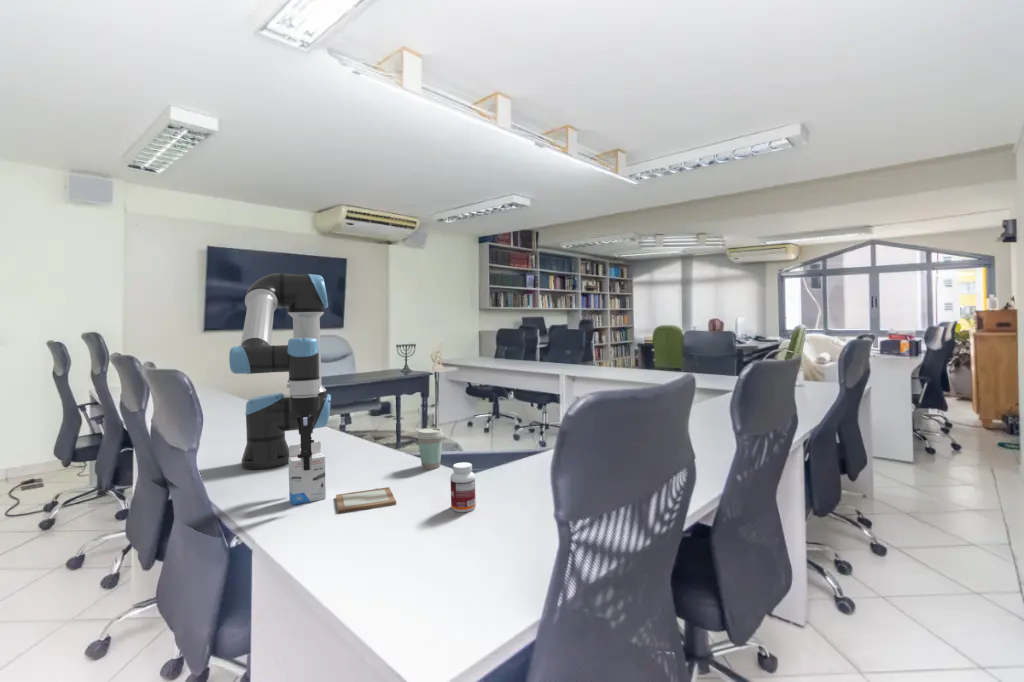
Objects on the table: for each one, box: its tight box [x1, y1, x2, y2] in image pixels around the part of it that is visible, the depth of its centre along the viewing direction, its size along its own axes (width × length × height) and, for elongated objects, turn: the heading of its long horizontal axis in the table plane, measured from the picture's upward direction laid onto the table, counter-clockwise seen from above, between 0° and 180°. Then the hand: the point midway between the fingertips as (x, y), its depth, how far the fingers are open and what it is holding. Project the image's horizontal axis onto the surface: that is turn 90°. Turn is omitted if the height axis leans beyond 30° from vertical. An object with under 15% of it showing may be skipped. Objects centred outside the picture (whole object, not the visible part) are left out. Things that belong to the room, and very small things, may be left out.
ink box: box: [288, 441, 327, 506], centre depth 128 cm, size 8×5×15 cm, turn 123°
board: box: [335, 486, 397, 514], centre depth 126 cm, size 12×14×1 cm
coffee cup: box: [416, 427, 444, 470], centre depth 156 cm, size 8×9×12 cm
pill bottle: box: [450, 462, 477, 513], centre depth 120 cm, size 6×6×11 cm
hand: (307, 475), depth 128 cm, fingers open, 13 cm apart
